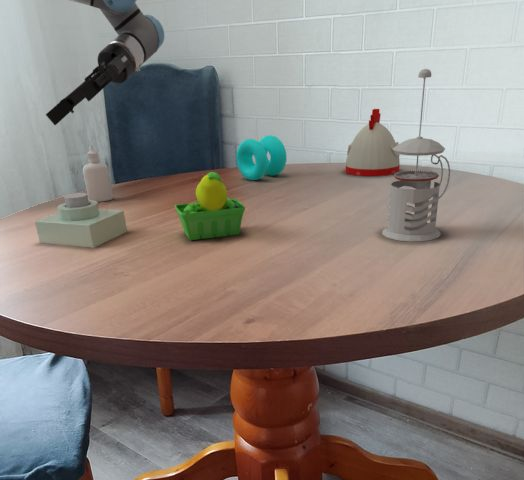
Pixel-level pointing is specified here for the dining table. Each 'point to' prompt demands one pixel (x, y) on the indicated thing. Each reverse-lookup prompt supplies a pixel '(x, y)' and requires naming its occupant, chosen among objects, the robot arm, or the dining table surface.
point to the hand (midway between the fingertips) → (67, 107)
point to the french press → (415, 190)
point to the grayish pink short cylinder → (76, 200)
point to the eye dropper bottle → (97, 178)
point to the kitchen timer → (372, 150)
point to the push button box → (81, 226)
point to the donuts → (261, 157)
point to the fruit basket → (211, 211)
